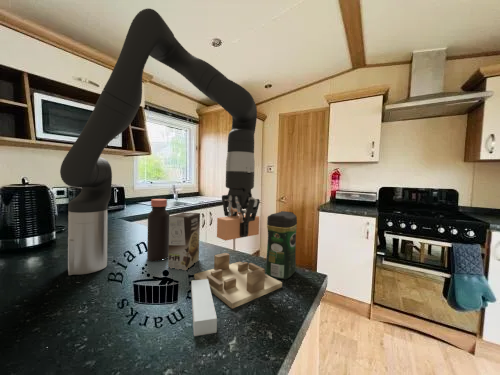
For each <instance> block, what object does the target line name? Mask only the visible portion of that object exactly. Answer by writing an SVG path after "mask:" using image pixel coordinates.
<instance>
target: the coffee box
mask: <svg viewBox="0 0 500 375" xmlns="http://www.w3.org/2000/svg"><path fill="white" fill-rule="evenodd" d="M169 217H170V218H169V253H168V258H167V259H168V261H167V262H168V263H167V268H168V267H170V268H169V269H172V268H175V269H174V270H179V269H182V271H187V270H188V268H189V269H190V268H191V267H192V266H193V265H195V264H196V263H197V262H198V261H200V234H201V233H200V230H201V229H200V228H201V212H181V213H180V212H179V213H177V214H173V215H170V216H169ZM194 263H195V264H194Z"/></svg>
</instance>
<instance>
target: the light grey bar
mask: <svg viewBox="0 0 500 375" xmlns="http://www.w3.org/2000/svg"><path fill="white" fill-rule="evenodd" d="M190 288H191V291H190V292H191V293H190V294H191V295H190V296H191V309H192V325H193V326H192V327H193V328H192V329H193V337H198V336H204V335H210V334H216V333H217V330H218V328H217V327H218V325H217V324H218V318H217V317H218V316H217V313H216V308H215V304H214V303H215V302H214V300H213V296H212V294H213V293H212V292H211V290H210V286H209V281H208V279H203V280H196V279H194V280H191V283H190Z"/></svg>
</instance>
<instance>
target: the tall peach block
mask: <svg viewBox="0 0 500 375" xmlns="http://www.w3.org/2000/svg"><path fill="white" fill-rule="evenodd" d="M250 216H251V215H250ZM244 217H245V214H244ZM216 222H217V223H216V238H218V239H221V240H223V241H231V240H236V239H242V238H243V237H240V223H241V222H240V215H239V214H238V216H230V217H227V216H224V217H223V216H222V217H217V218H216ZM259 234H260V216H257V215H256V217H255V220H254V221H250V222H249V228H248V235H247V237H253V236H256V235H257V236H258V235H259Z"/></svg>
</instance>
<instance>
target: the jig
mask: <svg viewBox="0 0 500 375" xmlns="http://www.w3.org/2000/svg"><path fill="white" fill-rule="evenodd" d="M213 257H214V260H213V263H214V264H213V268H211V269H208V270H204V271H201V272H197V273H194V275H193V278H194V280H203V279H208V281H209V286H210V290H211V294H213V295H214V296H215V297H217V298H218V299H220V301H222V302H223V303H225V305H226V306H228V307H229V308H230V309H231V310H233V309H235V308H237V307H239V306H242V305H244V304H247V303H249V302H251V301H254V300H256V299H258V298H261V297H262V296H264V295H267V294H269V293H272V292H274V291H276V290H279V289H281V288H282V287H283V282H282V281H281V280H279V279H276V278H272V277H270V276H269V275H267V274H266V268H264V267H261V266H259V265H257V264H255V263H252V262H247V261H244V262H242V261H237V262H233V263H230V257H231V255H230V254H229V253H227V252H223V253H219V254H215V255H214V256H213Z"/></svg>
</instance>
